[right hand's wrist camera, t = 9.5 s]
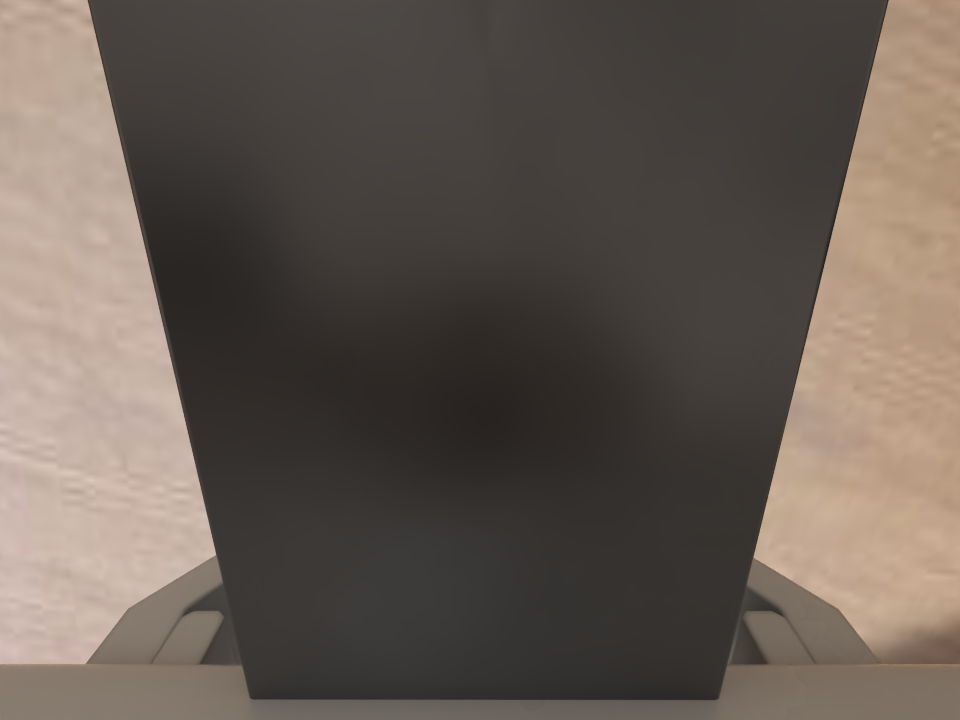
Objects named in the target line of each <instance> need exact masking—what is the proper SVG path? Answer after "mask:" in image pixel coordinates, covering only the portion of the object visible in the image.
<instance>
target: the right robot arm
mask: <svg viewBox="0 0 960 720" xmlns="http://www.w3.org/2000/svg"><path fill="white" fill-rule="evenodd" d="M0 720H960V664H881V663H880V662H879V660H878V659H877V658H876V657H875V655H874V654H873V653H872V652H871V650H870V649H869V648H868V646H867V645H866V644H865V643H864V641H863V640H862V639H861V637H860V636H859V635H858V634H857V632H856V631H855V630H854V628H853V627H852V626H851V625H850V623H849V622H848V621H847V619H846V618H845V617H844V616H843V614H842V613H841V612H840V610H839V609H837V608H835V607H834V606H832V605H831V604H829V603H827V602H826V601H824V600H822V599H821V598H819V597H817V596H816V595H814V594H812V593H811V592H809V591H807V590H806V589H804V588H802V587H801V586H799V585H797V584H796V583H794V582H793V581H791V580H789V579H788V578H786V577H784V576H783V575H781V574H779V573H778V572H776V571H774V570H773V569H771V568H769V567H768V566H766V565H764V564H763V563H761V562H759V561H758V560H756V559H755V558H753V560H752V565H751V569H750V573H749V577H748V581H747V585H746V589H745V593H744V597H743V602H742V606H741V610H740V614H739V618H738V622H737V626H736V630H735V635H734V639H733V643H732V647H731V651H730V655H729V659H728V663H727V667H726V672H725V676H724V680H723V684H722V688H721V692H720V696H719V699H717V700H253V699H251V698H250V697H249V693H248V688H247V684H246V680H245V676H244V671H243V667H242V663H241V658H240V654H239V650H238V645H237V641H236V637H235V632H234V628H233V624H232V620H231V615H230V611H229V607H228V602H227V598H226V594H225V589H224V585H223V581H222V576H221V572H220V568H219V564H218V559H217V555H216V556H214V557H212V558H211V559H209V560H207V561H206V562H204V563H203V564H201V565H199V566H198V567H196V568H194V569H193V570H191V571H189V572H188V573H186V574H184V575H183V576H181V577H180V578H178V579H176V580H175V581H173V582H171V583H170V584H168V585H166V586H165V587H163V588H161V589H160V590H158V591H157V592H155V593H153V594H152V595H150V596H148V597H147V598H145V599H143V600H142V601H140V602H138V603H137V604H135V605H134V606H132V607H130V608H129V609H128V610H127V611H126V612H125V614H124V615H123V616H122V618H121V619H120V620H119V621H118V623H117V624H116V625H115V627H114V628H113V629H112V631H111V632H110V633H109V634H108V636H107V637H106V638H105V640H104V641H103V642H102V643H101V645H100V646H99V647H98V649H97V650H96V651H95V653H94V654H93V655H92V656H91V658H90V659H89V660H88V662H87V663H86V664H0Z"/></svg>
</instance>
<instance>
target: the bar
mask: <svg viewBox="0 0 960 720" xmlns="http://www.w3.org/2000/svg"><path fill="white" fill-rule="evenodd" d="M88 3H89V8H90V12H91V16H92V20H93V25H94V29H95V33H96V38H97V42H98V46H99V51H100V55H101V59H102V64H103V68H104V72H105V76H106V81H107V85H108V89H109V94H110V98H111V102H112V107H113V111H114V115H115V120H116V124H117V128H118V133H119V137H120V141H121V145H122V150H123V154H124V158H125V163H126V167H127V171H128V176H129V180H130V184H131V189H132V193H133V197H134V201H135V206H136V210H137V214H138V219H139V223H140V227H141V232H142V236H143V240H144V245H145V249H146V253H147V258H148V262H149V266H150V270H151V275H152V279H153V283H154V288H155V292H156V296H157V301H158V305H159V309H160V314H161V318H162V322H163V326H164V331H165V335H166V339H167V344H168V348H169V352H170V357H171V361H172V365H173V370H174V374H175V378H176V382H177V387H178V391H179V395H180V400H181V404H182V408H183V413H184V417H185V421H186V426H187V430H188V434H189V439H190V443H191V447H192V451H193V456H194V460H195V464H196V469H197V473H198V477H199V482H200V486H201V490H202V495H203V499H204V503H205V507H206V512H207V516H208V520H209V525H210V529H211V533H212V538H213V542H214V546H215V551H216V555H217V559H218V564H219V568H220V572H221V576H222V581H223V585H224V589H225V594H226V598H227V602H228V607H229V611H230V615H231V620H232V624H233V628H234V632H235V637H236V641H237V645H238V650H239V654H240V658H241V663H242V667H243V671H244V676H245V680H246V684H247V688H248V693H249V697H250V698H251V699H253V700H717V699H719V696H720V692H721V688H722V684H723V680H724V676H725V672H726V667H727V663H728V659H729V655H730V651H731V647H732V643H733V639H734V635H735V630H736V626H737V622H738V618H739V614H740V610H741V606H742V602H743V597H744V593H745V589H746V585H747V581H748V577H749V573H750V569H751V565H752V560H753V556H754V552H755V548H756V544H757V540H758V536H759V532H760V527H761V523H762V519H763V515H764V511H765V507H766V503H767V499H768V495H769V490H770V486H771V482H772V478H773V474H774V470H775V466H776V462H777V457H778V453H779V449H780V445H781V441H782V437H783V433H784V429H785V425H786V420H787V416H788V412H789V408H790V404H791V400H792V396H793V392H794V388H795V383H796V379H797V375H798V371H799V367H800V363H801V359H802V355H803V350H804V346H805V342H806V338H807V334H808V330H809V326H810V322H811V318H812V313H813V309H814V305H815V301H816V297H817V293H818V289H819V285H820V280H821V276H822V272H823V268H824V264H825V260H826V256H827V252H828V248H829V243H830V239H831V235H832V231H833V227H834V223H835V219H836V215H837V210H838V206H839V202H840V198H841V194H842V190H843V186H844V182H845V178H846V173H847V169H848V165H849V161H850V157H851V153H852V149H853V145H854V140H855V136H856V132H857V128H858V124H859V120H860V116H861V112H862V108H863V103H864V99H865V95H866V91H867V87H868V83H869V79H870V75H871V70H872V66H873V62H874V58H875V54H876V50H877V46H878V42H879V38H880V33H881V29H882V25H883V21H884V17H885V13H886V9H887V5H888V0H88Z"/></svg>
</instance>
